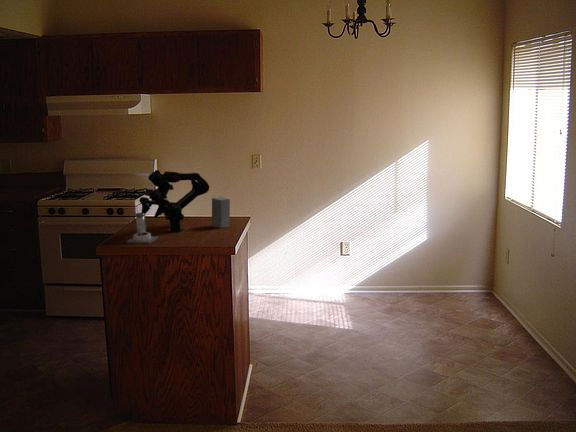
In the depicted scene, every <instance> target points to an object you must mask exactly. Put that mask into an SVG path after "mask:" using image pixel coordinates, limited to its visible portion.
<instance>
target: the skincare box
mask: <svg viewBox="0 0 576 432" xmlns="http://www.w3.org/2000/svg"><path fill="white" fill-rule="evenodd" d="M230 205H231V199H230V198H228V197H227V198H226V197H223V196H217V197H211V227H213V228H214V227H215V228H218V229H223V228H229V227H231V226H230V225H231V223H230V221H231V216H230V214H231V212H230V211H231V206H230Z"/></svg>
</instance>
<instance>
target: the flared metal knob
mask: <svg viewBox="0 0 576 432" xmlns="http://www.w3.org/2000/svg"><path fill="white" fill-rule="evenodd" d="M134 216H135V218H136V219H135V221H136V231H137V232H136V234H137V233H138V236H144V235H147V233H148V232H147V223H146V222H147V221H146V214H145V213H141V212H137V213H135V214H134Z"/></svg>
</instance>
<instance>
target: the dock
mask: <svg viewBox="0 0 576 432" xmlns="http://www.w3.org/2000/svg"><path fill="white" fill-rule="evenodd" d="M158 239H159V236H152V233H150V232H147V235H144V236H138V233H137V232H136V233H135V234H133V237H132V238H130V239H128V240H127V241H126V243H127V244H151V243H152V242H154V241H156V240H158Z"/></svg>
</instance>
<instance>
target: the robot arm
mask: <svg viewBox="0 0 576 432" xmlns="http://www.w3.org/2000/svg"><path fill="white" fill-rule="evenodd" d="M148 180H149V181H150V182H151V183H152V184H153V185H154V186H155V187H157V188H154V189H150V188H146V189H145V192H144V196H141V197H140V198H139V200H138V201H139V203H140V204H141V212H140V213H145V215H147V213H148V212H149V211H150V210H151V207H152V206H153V205H154V206H157V209H156V211H155V213H154V216H153V218H154V219H157V218H158V217H159V216H161V215H163V216H164V217H165V220H166V221H167V220H168V221H169V222H168V223H169V230H167V233H180V232H181V231H183V230H184V228H181V227H182V226H181V221H183V220H184V219H185V215H184V214H183V213H182V212H183V209H184V208H185V207H187V206H188V205H189V204H190V203H192V202H193V201H194V200H195V199H196V198H198V197H199V196H202V195H205V194H206V193H208V192H209V191H210V185H209V183H208V182H207V181H206V179H204V178H203V177H202V176H201V175H200V173H198V172H191V173H190V172H188V173H187V172H184V173H183V172H181V173H180V172H176V171H170V170H168V171H164V173H163V174H162V173H161V171H160V170H159V169H156V170H154V171H153V172H151V173H150V174H149V175H148ZM180 181H190V183H191V190H190V191H188V192H187V193H185V195H183V196H182V197H181V198H180V199H178V200H177V201H176V202H172V201H170V200H168V199H167V198H168V196H167V195H168V194H169V192H170V191H174V187H173V186H174V185H173V184H170V183H175V184H176V183H180ZM145 196H146V197H145Z"/></svg>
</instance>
